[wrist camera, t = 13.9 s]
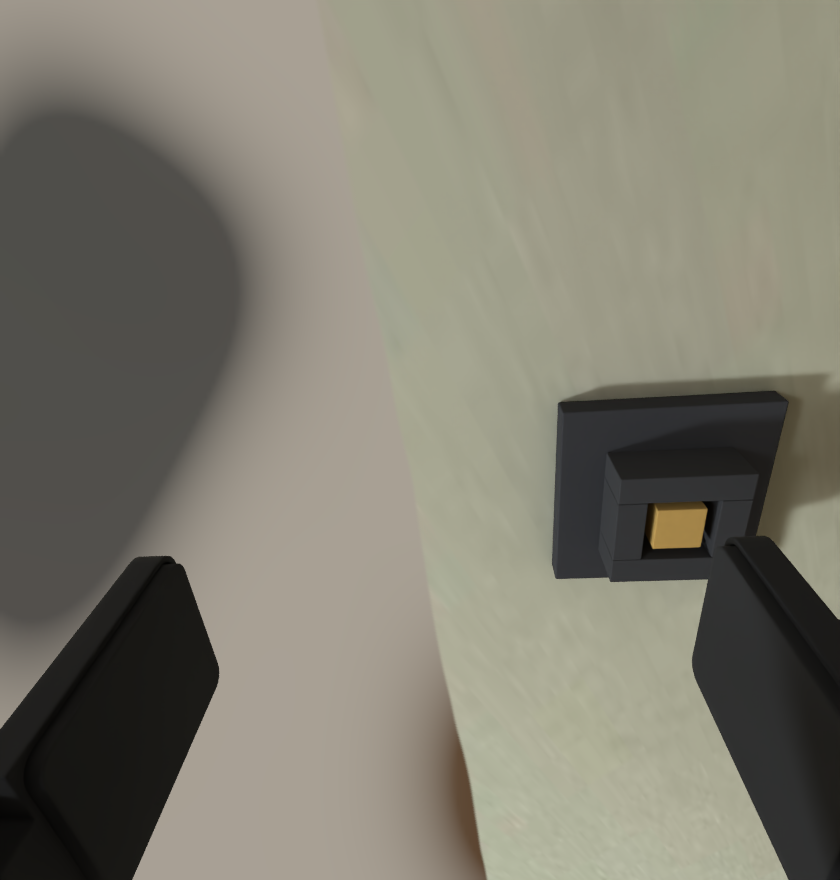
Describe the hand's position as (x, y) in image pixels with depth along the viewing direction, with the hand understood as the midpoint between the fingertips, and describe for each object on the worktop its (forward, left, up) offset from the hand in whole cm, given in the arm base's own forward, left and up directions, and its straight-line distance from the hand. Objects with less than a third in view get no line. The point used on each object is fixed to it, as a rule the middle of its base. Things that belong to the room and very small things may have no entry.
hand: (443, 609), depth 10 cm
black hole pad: (+12, +12, -21) cm, 27 cm away
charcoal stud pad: (+12, +12, -22) cm, 28 cm away
